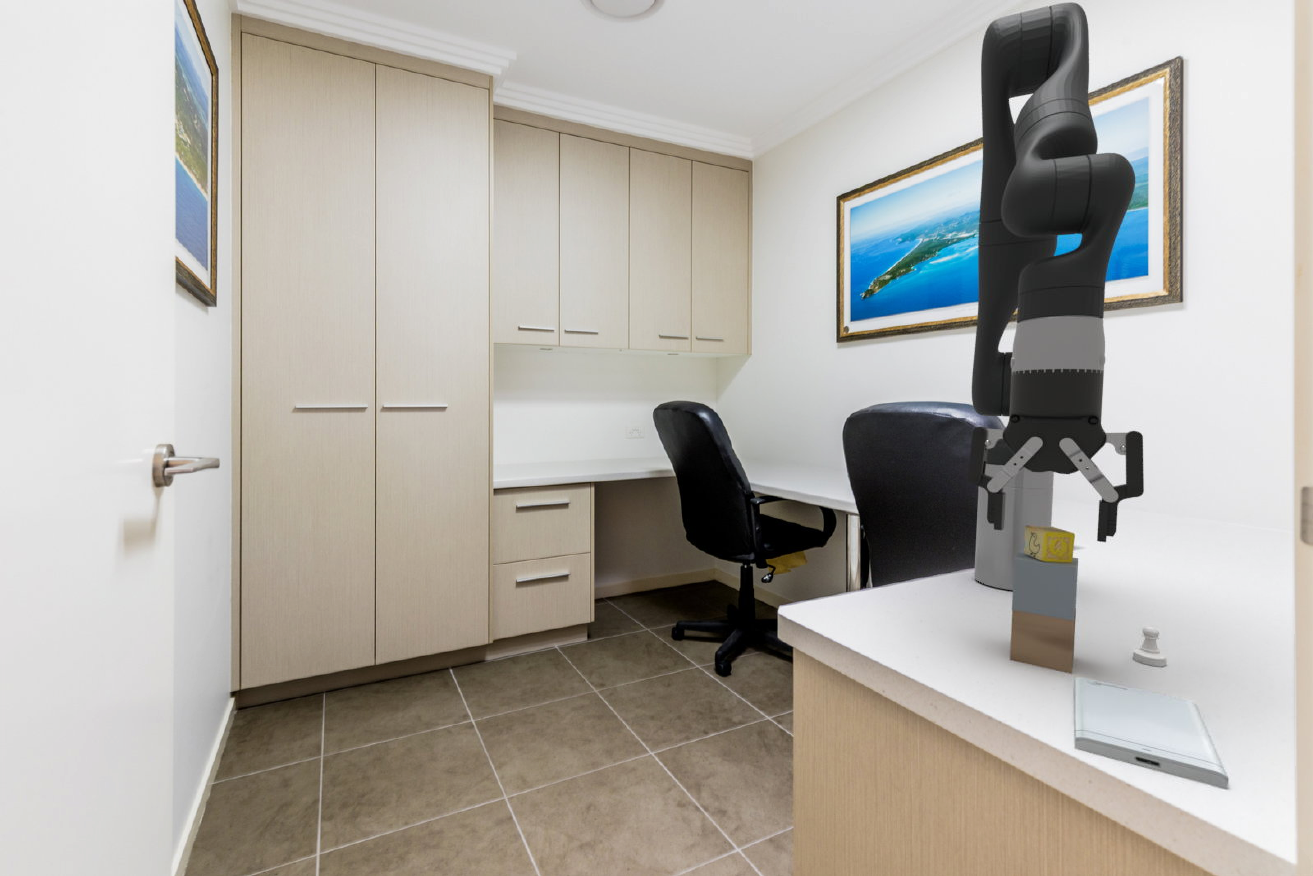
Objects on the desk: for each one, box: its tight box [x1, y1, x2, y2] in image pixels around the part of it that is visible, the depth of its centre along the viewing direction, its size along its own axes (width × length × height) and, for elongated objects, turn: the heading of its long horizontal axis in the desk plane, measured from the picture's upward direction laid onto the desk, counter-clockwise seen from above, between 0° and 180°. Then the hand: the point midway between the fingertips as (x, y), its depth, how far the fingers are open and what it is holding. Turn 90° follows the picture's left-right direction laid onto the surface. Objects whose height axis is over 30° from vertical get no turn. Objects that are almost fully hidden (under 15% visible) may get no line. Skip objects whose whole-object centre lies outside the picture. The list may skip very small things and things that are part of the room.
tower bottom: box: [1009, 609, 1077, 675], centre depth 60 cm, size 5×5×5 cm
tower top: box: [1011, 551, 1079, 621], centre depth 60 cm, size 5×5×5 cm
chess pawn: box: [1132, 625, 1167, 667], centre depth 60 cm, size 3×3×4 cm
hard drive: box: [1073, 677, 1229, 790], centre depth 47 cm, size 2×8×12 cm
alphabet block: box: [1023, 525, 1076, 563], centre depth 60 cm, size 3×3×3 cm
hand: (1047, 534), depth 60 cm, fingers open, 8 cm apart
